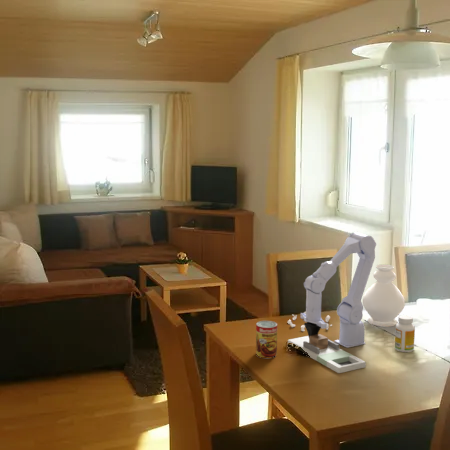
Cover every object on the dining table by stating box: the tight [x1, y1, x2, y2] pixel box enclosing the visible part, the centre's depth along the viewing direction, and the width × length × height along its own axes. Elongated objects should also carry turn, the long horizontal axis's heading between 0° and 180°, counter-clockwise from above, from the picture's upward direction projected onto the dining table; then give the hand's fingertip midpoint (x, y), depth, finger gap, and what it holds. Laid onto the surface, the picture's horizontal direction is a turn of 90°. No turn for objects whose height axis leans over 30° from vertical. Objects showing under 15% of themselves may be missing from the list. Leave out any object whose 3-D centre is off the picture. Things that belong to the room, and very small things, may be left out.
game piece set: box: [287, 311, 333, 332], centre depth 273 cm, size 19×20×4 cm
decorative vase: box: [362, 263, 406, 328], centre depth 275 cm, size 18×18×25 cm
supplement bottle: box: [394, 314, 416, 353], centre depth 243 cm, size 7×7×13 cm
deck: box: [287, 335, 367, 374], centre depth 238 cm, size 12×32×4 cm, turn 28°
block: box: [309, 333, 329, 349], centre depth 241 cm, size 5×5×4 cm
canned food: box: [255, 320, 278, 358], centre depth 238 cm, size 8×8×12 cm
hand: (312, 341), depth 244 cm, fingers closed
